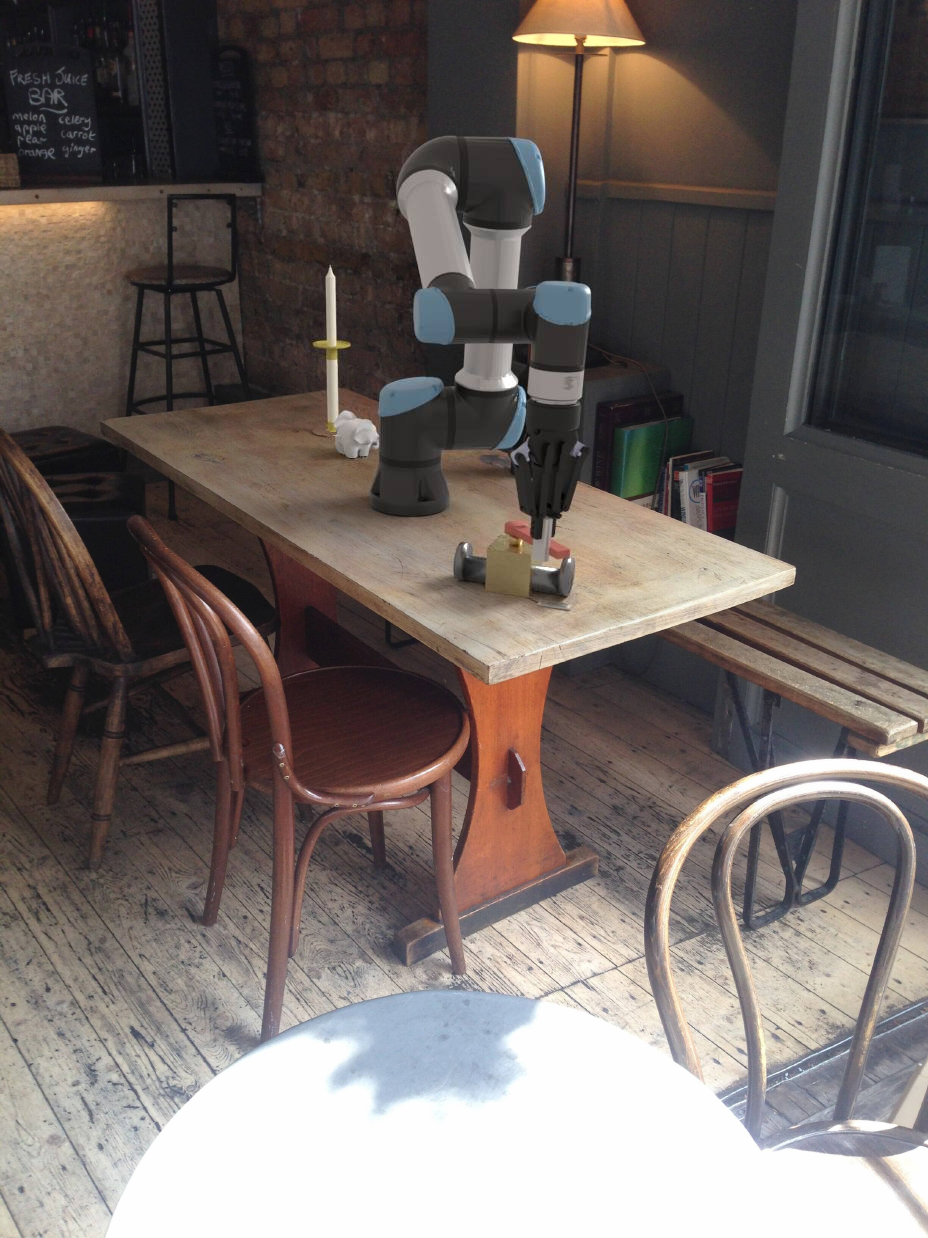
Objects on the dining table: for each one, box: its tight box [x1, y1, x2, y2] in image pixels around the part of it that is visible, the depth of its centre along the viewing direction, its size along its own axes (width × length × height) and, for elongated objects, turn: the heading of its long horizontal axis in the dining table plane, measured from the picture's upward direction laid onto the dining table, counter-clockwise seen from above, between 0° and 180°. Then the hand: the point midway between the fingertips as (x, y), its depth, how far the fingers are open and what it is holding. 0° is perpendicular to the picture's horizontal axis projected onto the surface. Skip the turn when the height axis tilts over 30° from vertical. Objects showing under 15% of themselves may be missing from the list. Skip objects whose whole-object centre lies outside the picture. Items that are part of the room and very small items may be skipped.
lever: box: [503, 520, 571, 560], centre depth 164 cm, size 14×4×1 cm, turn 31°
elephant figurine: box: [333, 410, 379, 459], centre depth 237 cm, size 10×12×9 cm
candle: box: [312, 265, 351, 432], centre depth 248 cm, size 10×10×38 cm
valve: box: [452, 534, 576, 611], centre depth 169 cm, size 20×9×9 cm, turn 71°
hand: (540, 558), depth 161 cm, fingers closed
